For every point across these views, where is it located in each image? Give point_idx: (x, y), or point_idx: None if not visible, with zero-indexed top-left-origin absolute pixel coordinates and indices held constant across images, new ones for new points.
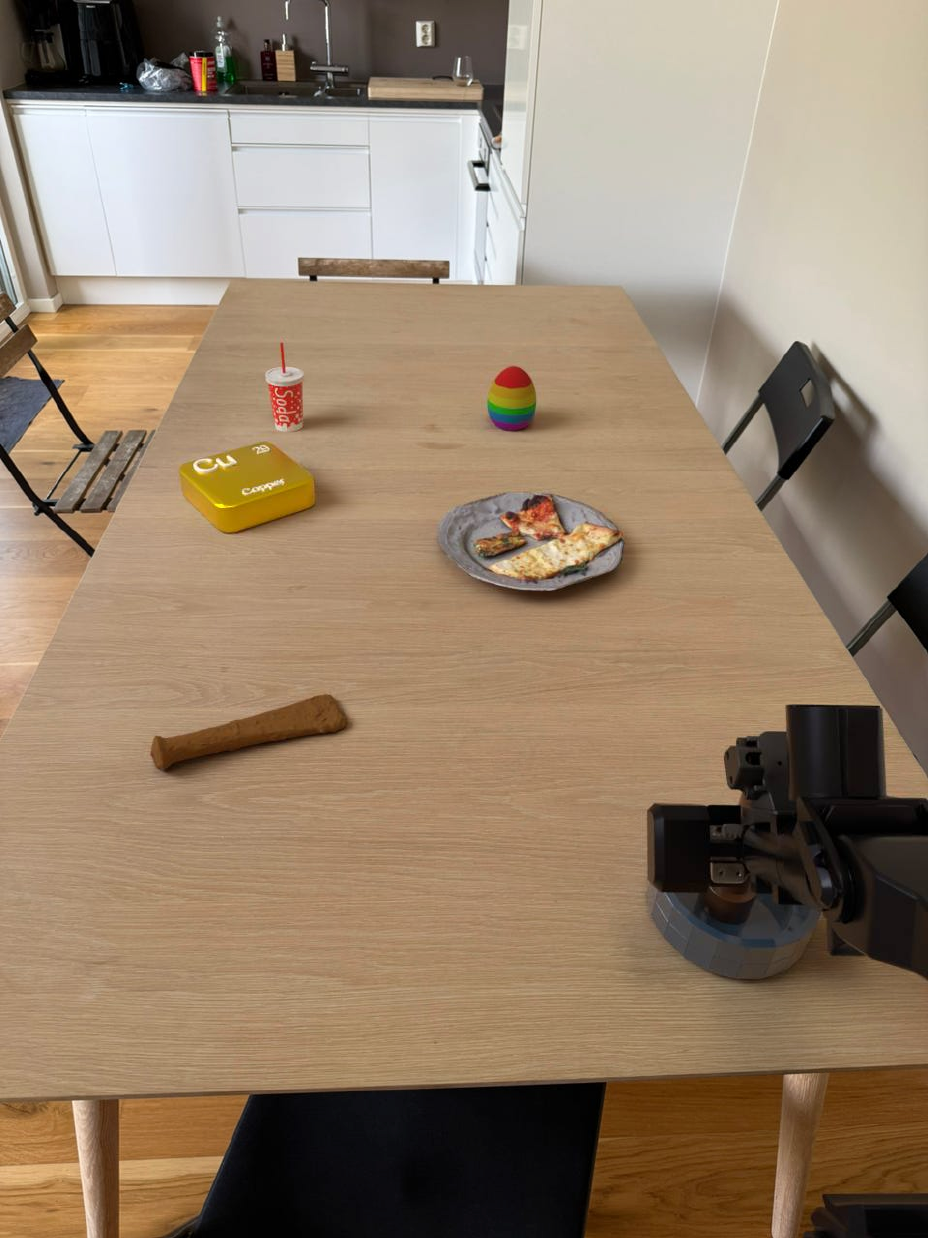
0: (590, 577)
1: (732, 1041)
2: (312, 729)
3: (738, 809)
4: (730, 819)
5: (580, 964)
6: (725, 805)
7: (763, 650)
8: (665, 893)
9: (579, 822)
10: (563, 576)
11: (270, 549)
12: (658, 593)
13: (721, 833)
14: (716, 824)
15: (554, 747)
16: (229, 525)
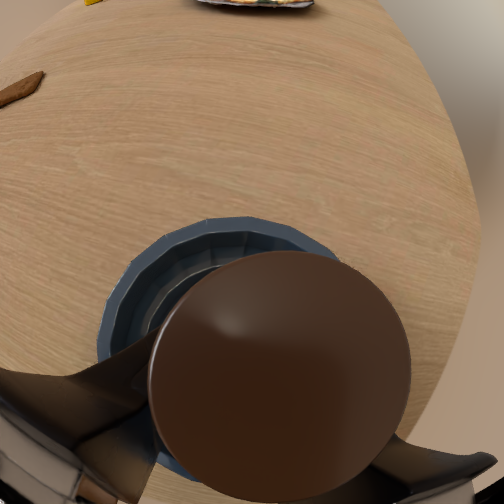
0: (276, 5)
1: (167, 489)
2: (13, 96)
3: (65, 451)
4: (49, 446)
5: (46, 361)
6: (2, 403)
7: (397, 83)
8: (98, 358)
9: (120, 185)
10: (257, 3)
11: (97, 6)
12: (328, 29)
13: (6, 472)
14: (12, 423)
15: (154, 101)
16: (87, 1)
